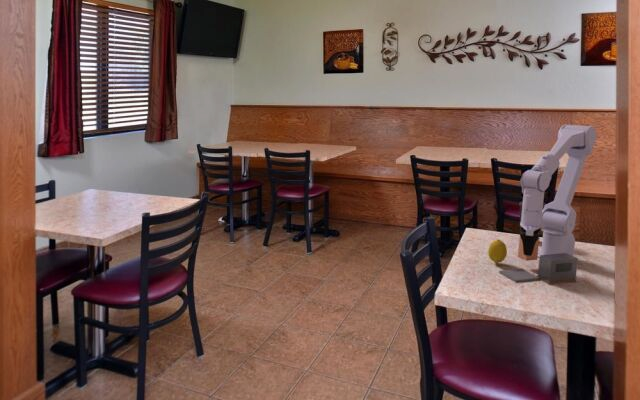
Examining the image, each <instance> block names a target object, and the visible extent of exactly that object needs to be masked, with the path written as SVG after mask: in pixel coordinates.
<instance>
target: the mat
mask: <svg viewBox="0 0 640 400" xmlns="http://www.w3.org/2000/svg"><path fill="white" fill-rule="evenodd" d="M498 271H499V274H501V275H502V276H504V277H505V278H507V279H509V280H511V281H513V282H515V283H521V282H531V281H532V282H533V281H539V280H540V279H539V277H537V276H538V275H535V274H533V273H531V272H529V271H528V270H526V269H524V268H516V269H505V270H498Z"/></svg>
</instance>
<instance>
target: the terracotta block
mask: <svg viewBox="0 0 640 400" xmlns="http://www.w3.org/2000/svg"><path fill="white" fill-rule="evenodd" d="M539 244H540V237H539V238H538V240H537V241H536V243H535V246H534V249H533V253H532V255H531V256H528V255H524V252H523V243H522V239H521V237H520V236H519V242H518V251H517V252H518V253H517V257H518V258H519V259H522V260H523V261H525V262H526V261H527V262H528V261H537V260H538V258H539V257H538V254H539Z"/></svg>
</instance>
